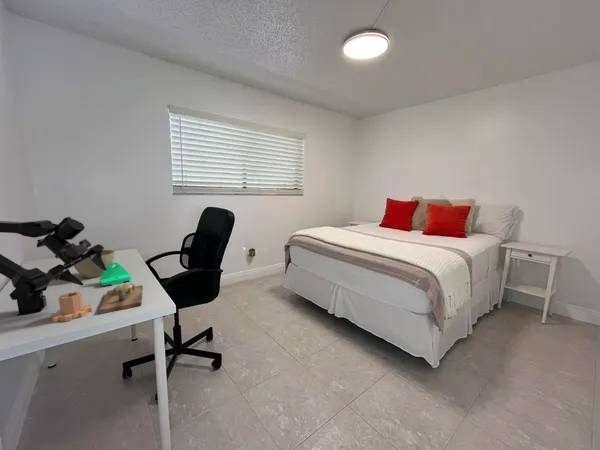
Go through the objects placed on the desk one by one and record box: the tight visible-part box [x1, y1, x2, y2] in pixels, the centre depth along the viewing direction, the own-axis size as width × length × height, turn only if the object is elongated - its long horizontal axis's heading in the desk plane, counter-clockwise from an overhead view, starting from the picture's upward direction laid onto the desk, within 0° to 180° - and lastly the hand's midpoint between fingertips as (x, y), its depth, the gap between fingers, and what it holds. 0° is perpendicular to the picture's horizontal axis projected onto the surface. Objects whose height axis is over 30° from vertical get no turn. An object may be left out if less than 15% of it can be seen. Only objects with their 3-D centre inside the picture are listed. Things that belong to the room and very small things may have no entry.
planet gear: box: [50, 291, 93, 323], centre depth 91 cm, size 11×11×8 cm
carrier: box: [98, 283, 144, 315], centre depth 104 cm, size 13×21×6 cm, turn 31°
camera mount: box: [99, 260, 132, 286], centre depth 123 cm, size 12×8×10 cm, turn 134°
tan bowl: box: [72, 249, 115, 279], centre depth 134 cm, size 18×18×12 cm
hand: (94, 277), depth 96 cm, fingers open, 9 cm apart
